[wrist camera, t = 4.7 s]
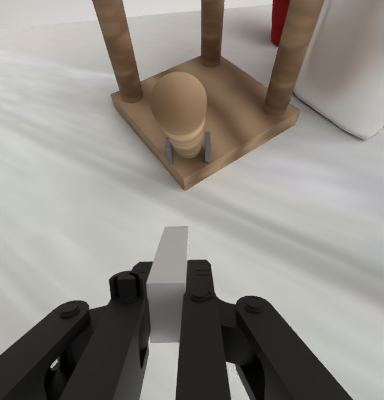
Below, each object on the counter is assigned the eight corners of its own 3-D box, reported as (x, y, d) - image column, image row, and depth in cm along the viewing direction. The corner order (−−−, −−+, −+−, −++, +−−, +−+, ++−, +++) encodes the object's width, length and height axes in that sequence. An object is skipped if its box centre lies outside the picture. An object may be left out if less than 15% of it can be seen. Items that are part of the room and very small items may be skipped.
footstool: (185, 190, 33) (166, -8, 15) (115, 107, 41) (51, -79, 24) (294, 124, 38) (376, -76, 20) (212, 64, 47) (220, -113, 29)
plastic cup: (246, 41, 51) (257, -38, 41) (278, 22, 54) (297, -56, 44) (291, 63, 46) (317, -20, 36) (324, 40, 50) (355, -41, 40)
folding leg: (201, 158, 30) (207, 129, 14) (175, 158, 30) (150, 130, 14) (201, 130, 30) (206, 70, 14) (174, 131, 30) (148, 72, 14)
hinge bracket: (209, 163, 32) (210, 146, 29) (167, 164, 32) (165, 147, 29) (209, 148, 33) (209, 131, 30) (168, 149, 33) (166, 132, 30)
